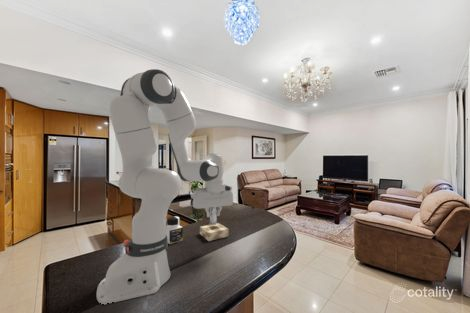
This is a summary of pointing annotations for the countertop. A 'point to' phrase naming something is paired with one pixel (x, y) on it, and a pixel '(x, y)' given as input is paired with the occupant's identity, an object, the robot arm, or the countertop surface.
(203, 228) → the socket block
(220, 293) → the countertop surface
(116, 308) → the countertop surface
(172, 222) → the medicine bottle
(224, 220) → the countertop surface
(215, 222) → the pin
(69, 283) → the countertop surface
